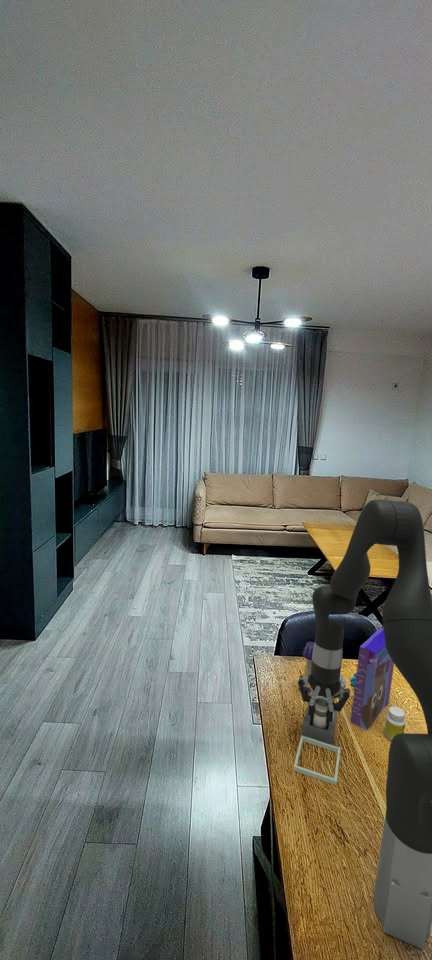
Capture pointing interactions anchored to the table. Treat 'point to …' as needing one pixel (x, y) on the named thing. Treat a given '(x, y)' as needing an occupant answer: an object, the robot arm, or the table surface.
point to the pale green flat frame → (312, 773)
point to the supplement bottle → (394, 722)
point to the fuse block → (316, 732)
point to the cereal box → (372, 680)
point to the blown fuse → (320, 713)
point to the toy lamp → (308, 661)
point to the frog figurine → (343, 684)
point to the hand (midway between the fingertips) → (320, 718)
